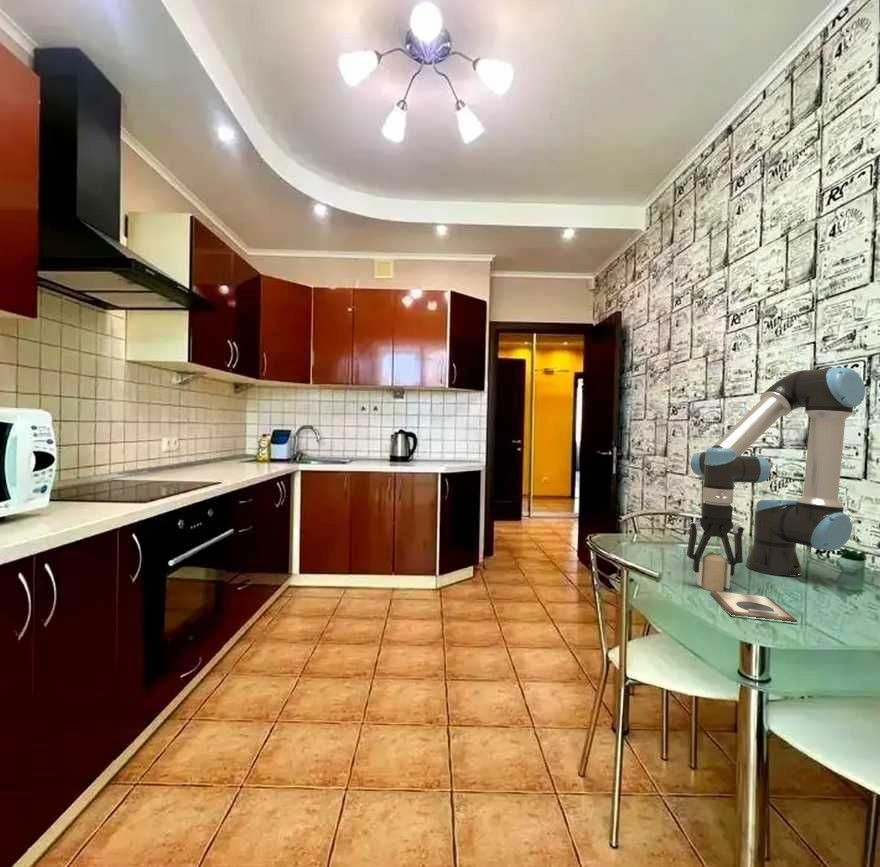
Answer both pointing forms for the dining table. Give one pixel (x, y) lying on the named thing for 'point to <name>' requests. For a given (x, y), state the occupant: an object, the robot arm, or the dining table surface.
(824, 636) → the dining table surface
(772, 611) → the brown tray
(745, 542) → the dining table surface
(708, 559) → the candle
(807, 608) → the dining table surface
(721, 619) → the dining table surface
